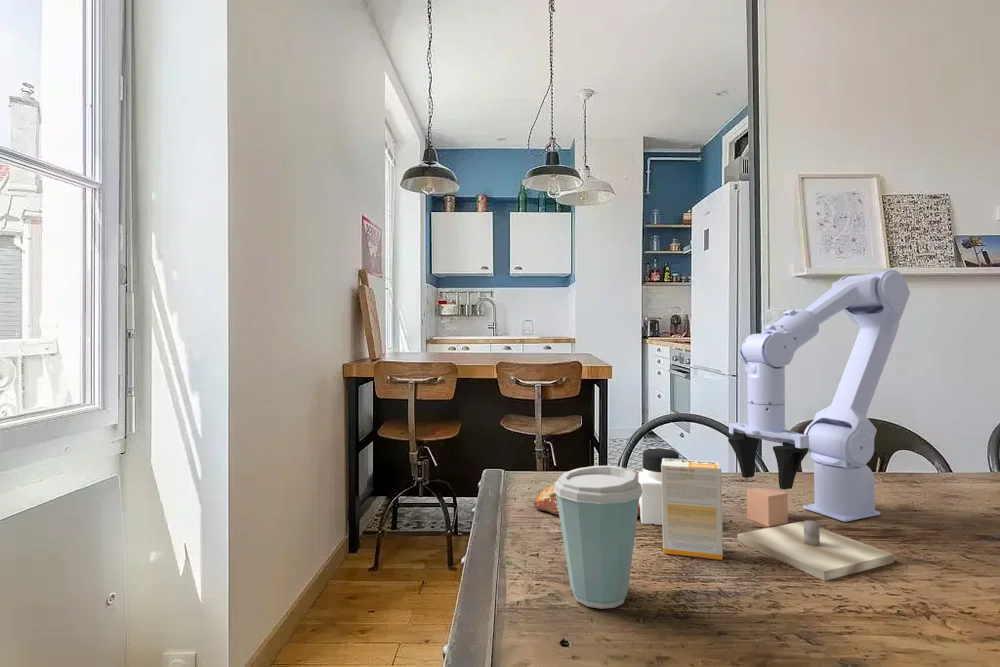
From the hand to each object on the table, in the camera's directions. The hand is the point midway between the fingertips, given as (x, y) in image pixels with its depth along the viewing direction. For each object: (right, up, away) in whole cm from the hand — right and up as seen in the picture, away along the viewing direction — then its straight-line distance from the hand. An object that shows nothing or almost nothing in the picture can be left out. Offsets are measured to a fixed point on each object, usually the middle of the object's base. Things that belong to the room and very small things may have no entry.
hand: (766, 482), depth 89 cm
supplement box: (-17, -7, -13) cm, 23 cm away
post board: (0, -6, -13) cm, 15 cm away
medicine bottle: (-18, -7, +1) cm, 19 cm away
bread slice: (-28, -7, +7) cm, 30 cm away
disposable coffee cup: (-34, -7, -26) cm, 43 cm away
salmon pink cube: (0, -7, 0) cm, 7 cm away
